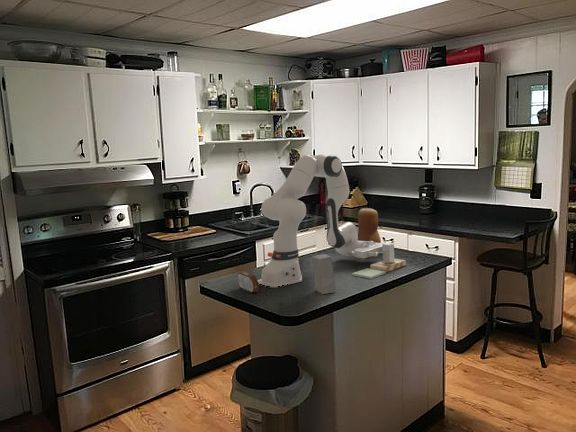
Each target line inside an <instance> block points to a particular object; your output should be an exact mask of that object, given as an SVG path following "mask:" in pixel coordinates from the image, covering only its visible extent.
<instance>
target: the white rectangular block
mask: <svg viewBox="0 0 576 432" xmlns="http://www.w3.org/2000/svg"><path fill="white" fill-rule="evenodd" d="M382 246H383V253H382V261H383V263H385V264H392V263H394V259H395V243H393V242H384V243H382Z"/></svg>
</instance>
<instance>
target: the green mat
mask: <svg viewBox="0 0 576 432" xmlns="http://www.w3.org/2000/svg"><path fill="white" fill-rule="evenodd" d="M351 273H352V274H351V275H352V276H355V277H360V278H364V279H369V280H373V279H375V278H377V277H378V278H379V277H380V276H382V275H385V274H386V273H385V272H384V271H379V270H374V269H370V268H367V267H366V268H365V269H360V270H358V271H355V272H351Z"/></svg>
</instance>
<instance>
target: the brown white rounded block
mask: <svg viewBox="0 0 576 432" xmlns="http://www.w3.org/2000/svg"><path fill="white" fill-rule="evenodd" d="M257 280H258V279H257V277H256V275H255V274H253V273H251V272H248V271H246V270H243V271H240V272H238V273H237V284H238V286H239V287H242V288H244V289H247V290H249V291H251V292H255V293H258V291H259V288H260V285H259V284H258V281H257Z"/></svg>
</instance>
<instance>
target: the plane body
mask: <svg viewBox="0 0 576 432" xmlns="http://www.w3.org/2000/svg"><path fill="white" fill-rule="evenodd" d="M406 264H407V261H406V260H405V259H399V258H394V263H392V264H385V263H383V260H380V261H377V262H375V263H371V264H370V265H369V266H370V267H369V269H374V270H379V271H384V272H385V274H386V273H389V272H390V271H394V270H397V269H399V268H402V267H405V266H407V265H406Z"/></svg>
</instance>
